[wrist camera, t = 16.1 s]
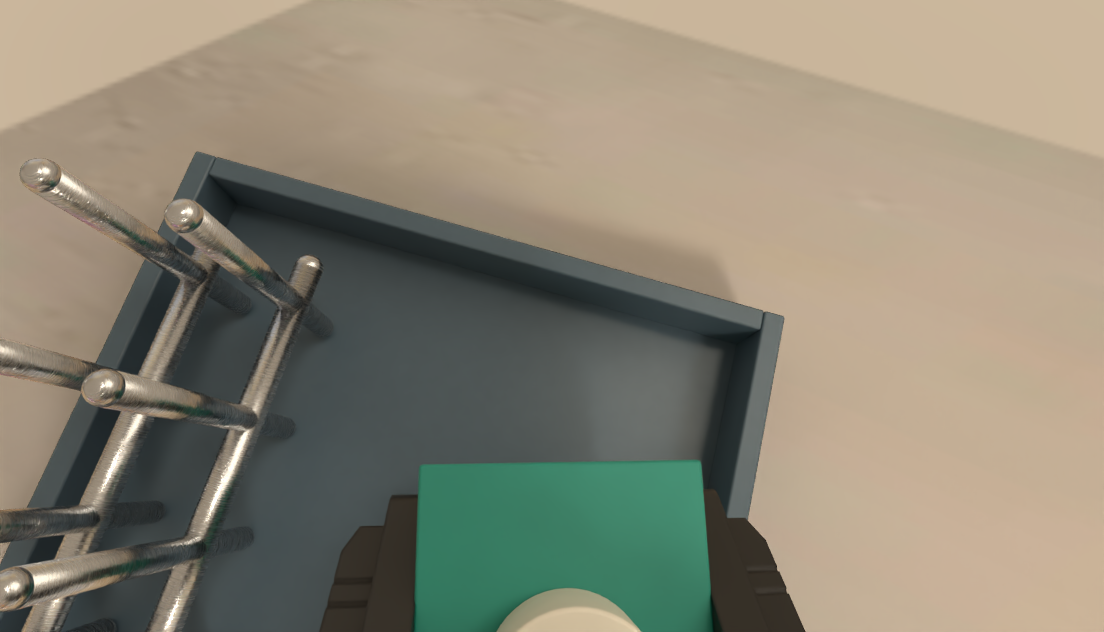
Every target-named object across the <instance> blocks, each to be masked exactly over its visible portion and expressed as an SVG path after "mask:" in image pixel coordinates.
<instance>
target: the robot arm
mask: <svg viewBox="0 0 1104 632" xmlns="http://www.w3.org/2000/svg"><path fill="white" fill-rule="evenodd" d="M703 493H704V506H705V519H706V532H707V545H708V558H709V571H710V584H711V602H712V615H713V629H714V632H805V630H804V628H803V625H802V623H801V621H800V618H799V616H798V614H797V611H796V609H795V607H794V605H793V602H792V600H791V598H790V595H789V594H787V592H786V586H785V584H784V581H783V579H782V577H781V575H780V572H778V571H777V565H776V563H775V561H774V558H773V556H772V554H771V551H770V549H769V547H768V545H767V542H766V540H765V539H764V538H763V537H762V536H761V535H760V534H759V532H758V531H757V530H756V529H755V528H754V527H753V526H752V525H751V524H750V523H749V522H748V521H747V519H746V518H727V516H726V514H725V511H724V509H723V506H722V503H721V501H720V498H719V496H718V494H717V492H716V491H715V490H714V489H703ZM417 504H418V494H412V495H392V496H391V497H390V500H389V504H388V508H387V513H386V518H385V522H384V525H383V526H360V527H359V528H358V529H357V531H356V532H355V533H354V535H353V536H352V537H351V539H350V540H349V541H348V543H347V544H346V545H345V546H344V548H343V549H342V550H341V554H340V557H339V561H338V565H337V568H336V572H335V576H334V583H333V584H332V587H331V590H330V594H329V598H328V601H327V608H325V612H324V616H323V619H322V623H321V627H320V630H319V632H414V617H415V600H414V592H415V563H416V533H417Z"/></svg>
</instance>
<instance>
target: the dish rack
mask: <svg viewBox="0 0 1104 632" xmlns="http://www.w3.org/2000/svg"><path fill="white" fill-rule="evenodd" d="M19 176H20V179H21V182H22V183H23V185H24V186H25V187H26V188H28V189H29V190H30V191H32V192H34V193H35V194H37V195H39V196H40V197H42V198H44V199H45V200H47V201H49V202H50V203H52V204H54V205H55V206H57V207H59V208H60V209H62V210H64V211H66V212H67V213H69V214H71V215H72V216H74V217H76V218H77V219H79V220H81V221H82V222H84V223H86V224H87V225H89V226H91V227H92V228H94V229H96V230H97V231H99V232H101V233H102V234H104V235H106V236H107V237H109V238H111V239H112V240H114V241H116V242H117V243H119V244H121V245H122V246H124V247H126V248H127V249H129V250H131V251H132V252H134V253H136V254H137V255H139V256H141V257H142V258H144V259H146V260H147V261H149V262H151V263H152V264H154V265H156V266H157V267H159V268H161V269H162V270H164V271H166V272H168V273H169V274H171V275H173V276H174V277H176V278H178V279H179V280H180V283H179V285H178V287H177V289H176V291H175V294H174V296H173V298H172V300H171V302H170V305H169V307H168V309H167V311H166V313H165V316H164V318H163V320H162V322H161V324H160V327H159V329H158V331H157V333H156V335H155V338H154V340H153V342H152V344H151V346H150V349H149V351H148V353H147V355H146V357H145V360H144V362H143V364H142V366H141V368H140V371H139V373H138V375H136V374H132V373H128V372H125V371H121V370H118V369H114V368H110V367H107V366H103V365H99V364H96V363H92V362H89V361H85V360H81V359H78V358H74V357H70V356H67V355H63V354H60V353H56V352H52V351H49V350H45V349H41V348H38V347H34V346H31V345H27V344H23V343H20V342H16V341H12V340H9V339H5V338H2V337H0V375H5V376H10V377H15V378H20V379H25V380H30V381H35V382H40V383H44V384H49V385H54V386H59V387H64V388H69V389H74V390H79V391H81V392H82V395H83V397H84V399H85V400H86V401H87V402H88V403H89V404H91V405H93V406H96V407H100V408H106V409H112V410H118V411H121V413H120V415H119V417H118V419H117V421H116V424H115V426H114V428H113V430H112V432H111V435H110V437H109V439H108V441H107V443H106V446H105V448H104V450H103V452H102V454H101V457H100V459H99V461H98V463H97V465H96V468H95V470H94V472H93V474H92V476H91V479H90V481H89V483H88V485H87V487H86V490H85V492H84V494H83V496H82V498H81V501H80V503H79V505H71V506H55V507H39V508H23V509H7V510H0V543H5V542H13V541H21V540H28V539H36V538H44V537H52V536H60V535H65V536H64V538H63V540H62V542H61V545H60V547H59V549H58V551H57V553H56V556H55V558H54V560H49V561H43V562H38V563H32V564H27V565H21V566H15V567H10V568H7V569H4V570H2V571H0V612H10V611H15V610H18V609H22V608H26V607H30V606H32V608H31V611H30V613H29V615H28V617H27V619H26V622H25V624H24V626H23V628H22V630H21V632H61V630H62V628H63V626H64V623H65V621H66V619H67V617H68V614H69V612H70V610H71V607H72V605H73V603H74V601H75V598H76V596H77V594H78V593H82V592H86V591H90V590H93V589H97V588H101V587H105V586H108V585H112V584H116V583H120V582H123V581H127V580H131V579H135V578H138V577H142V576H146V575H150V574H153V573H157V572H161V571H165V570H168V569H170V572H169V574H168V576H167V579H166V581H165V584H164V586H163V589H162V591H161V594H160V596H159V599H158V601H157V604H156V606H155V608H154V611H153V613H152V616H151V618H150V621H149V623H148V626H147V628H146V631H145V632H182V630H183V627H184V625H185V622H186V620H187V617H188V614H189V612H190V609H191V607H192V604H193V602H194V599H195V597H196V594H197V592H198V589H199V586H200V584H201V581H202V579H203V576H204V574H205V571H206V569H207V566H208V563H209V561H210V558H213V557H217V556H221V555H225V554H228V553H232V552H236V551H240V550H243V549H246V548H248V547H249V546H251V545H252V543H253V541H254V539H255V534H254V531H253V530H252V529H251V528H250V527H248V526H240V527H234V528H228V529H223V530H222V528H223V525H224V523H225V520H226V518H227V515H228V513H229V510H230V507H231V505H232V502H233V500H234V497H235V495H236V492H237V490H238V487H239V484H240V482H241V479H242V477H243V474H244V472H245V469H246V467H247V464H248V462H249V459H250V456H251V454H252V451H253V449H254V446H255V444H256V441H257V439H258V436H259V435H263V436H269V437H275V438H281V439H286V438H289V437H291V436H292V435H293V434H294V433H295V430H296V424H295V422H294V420H292V419H291V418H289V417H285V416H282V415H278V414H274V413H271V412H268V411H269V408H270V405H271V403H272V400H273V398H274V395H275V393H276V390H277V388H278V385H279V383H280V380H281V377H282V375H283V372H284V370H285V367H286V365H287V362H288V360H289V357H290V354H291V352H292V349H293V347H294V344H295V342H296V339H297V337H298V334H299V332H300V329H301V326H302V325H303V326H304V327H306V328H307V329H308V330H310V331H311V332H312V333H314V334H315V335H317V336H318V337H327V336H329V335H331V334H332V332H333V330H334V324H333V322H332V321H331V320H330V319H329V318H328V317H327V316H326V315H325V314H324V313H322V312H321V311H320V310H319V309H318V308H317V307H316V306H314V305H313V304H312V303H311V301H312V298H313V296H314V293H315V291H316V288H317V286H318V283H319V281H320V278H321V275H322V273H323V264H322V262H321V260H320V259H319V258H318V257H316V256H314V255H310V254H306V255H303V256H300V257H299V258H298V259H297V260H296V262H295V264H294V266H293V269H292V271H291V274H290V276H289V279H288V281H286V280H285V279H284V278H283V277H281V276H280V275H279V274H278V273H277V272H276V271H275V270H273V269H272V268H271V267H270V266H269V265H268V264H267V263H265V262H264V261H263V260H262V259H261V258H260V257H259V256H257V255H256V254H255V253H254V252H253V251H252V250H251V249H249V248H248V247H247V246H246V245H245V244H244V243H243V242H241V241H240V240H239V239H238V238H237V237H236V236H235V235H233V234H232V233H231V232H230V231H229V230H228V229H227V228H225V227H224V226H223V225H222V224H221V223H220V222H219V221H217V220H216V219H215V218H214V217H213V216H212V215H211V214H210V213H208V212H207V211H206V210H205V209H204V208H203V207H202V206H200V205H199V204H198V203H196V202H195V201H193V200H190V199H177V200H174V201H172V202H171V203H169V205H168V206H167V207H166V209H165V213H164V218H165V221H166V223H167V225H168V226H169V227H170V228H171V229H172V230H173V231H174V232H176V233H177V234H178V235H180V236H181V237H183V238H184V239H185V240H187V241H188V242H189V243H191V244H192V245H194V246H195V250H194V252H193V254H192V256H189V255H188V254H186V253H185V252H184V251H182V250H181V249H179V248H178V247H176V246H175V245H173V244H172V243H171V242H169V241H168V240H166V239H165V238H163V237H162V236H160V235H159V234H158V233H156V232H155V231H153V230H152V229H150V228H149V227H147V226H146V225H145V224H143V223H142V222H140V221H139V220H137V219H136V218H134V217H133V216H132V215H130V214H129V213H127V212H126V211H124V210H123V209H121V208H120V207H119V206H117V205H116V204H114V203H113V202H111V201H110V200H108V199H107V198H106V197H104V196H103V195H101V194H100V193H98V192H97V191H95V190H94V189H92V188H91V187H90V186H88V185H87V184H85V183H84V182H82V181H81V180H79V179H78V178H77V177H75V176H74V175H72V174H71V173H69V172H68V171H66V170H65V169H64V168H62V167H61V166H59V165H58V164H56V163H55V162H53V161H51V160H48V159H44V158H34V159H31V160H28V161H26V162H25V163H24V164H23V165H22V166H21V168H20V172H19ZM221 266H222V267H224V268H225V269H226V270H228V271H229V272H230V273H232V274H233V275H235V276H236V277H237V278H239V279H240V280H241V281H243V282H244V283H245V284H247V285H248V286H250V287H251V288H252V289H254V290H255V291H256V292H258V293H259V294H260V295H262V296H263V297H265V298H266V299H267V300H269V301H270V302H271V303H273V304H274V305H275V306H277V308H276V311H275V313H274V316H273V318H272V321H271V323H270V326H269V328H268V330H267V333H266V335H265V338H264V340H263V343H262V345H261V348H260V350H259V353H258V355H257V358H256V360H255V362H254V365H253V367H252V370H251V372H250V375H249V377H248V380H247V382H246V385H245V387H244V390H243V392H242V394H241V397H240V399H239V402H238V403H234V402H230V401H227V400H223V399H219V398H216V397H212V396H208V395H206V394H204V393H201V392H197V391H194V390H190V389H187V388H183V387H179V386H176V385H172V384H170V382H171V380H172V377H173V375H174V373H175V370H176V368H177V366H178V364H179V361H180V359H181V357H182V355H183V352H184V350H185V348H186V345H187V343H188V341H189V339H190V336H191V334H192V332H193V329H194V327H195V325H196V323H197V320H198V318H199V316H200V314H201V311H202V309H203V307H204V304H205V302H206V300H207V298H208V297H209V298H211V299H213V300H214V301H216V302H218V303H219V304H221V305H223V306H224V307H226V308H228V309H229V310H231V311H233V312H234V313H237V314H244V313H247V312H248V311H249V310H250V309H251V307H252V301H251V299H250V298H249V297H248V296H247V295H246V294H244V293H243V292H241V291H240V290H239V289H237V288H236V287H234V286H233V285H231V284H230V283H228V282H227V281H226V280H224V279H223V278H221V277H220V276H218V272H219V270H220V268H221ZM155 417H158V418H164V419H170V420H176V421H182V422H188V423H193V424H199V425H205V426H211V427H217V428H222V429H227V431H226V434H225V436H224V439H223V441H222V444H221V446H220V449H219V451H218V453H217V456H216V458H215V461H214V463H213V466H212V468H211V471H210V473H209V476H208V478H207V481H206V483H205V485H204V488H203V490H202V493H201V495H200V498H199V500H198V503H197V505H196V508H195V510H194V513H193V515H192V517H191V520H190V522H189V525H188V527H187V530H186V532H185V535H184V537H178V538H172V539H167V540H161V541H156V542H150V543H144V544H139V545H133V546H127V547H122V548H116V549H111V550H105V551H99V552H96V550H97V548H98V546H99V544H100V541H101V539H102V537H103V535H104V532H105V530H107V529H115V528H123V527H131V526H139V525H146V524H153V523H156V522H158V521H160V520H161V519H162V518H163V517H164V515H165V511H166V509H165V506H164V504H163V503H161V502H160V501H156V500H151V501H135V502H119V503H118V500H119V498H120V496H121V494H122V491H123V489H124V487H125V484H126V482H127V480H128V478H129V475H130V473H131V471H132V468H133V466H134V464H135V462H136V459H137V457H138V455H139V452H140V450H141V448H142V446H143V443H144V441H145V439H146V437H147V434H148V432H149V430H150V427H151V425H152V423H153V421H154V418H155ZM64 632H116V624H115V622H114V621H113V620H112V619H109V618H102V619H99V620H96V621H93V622H90V623H87V624H84V625H81V626H78V627H76V628H73V629H70V630H67V631H64Z"/></svg>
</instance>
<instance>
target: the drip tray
mask: <svg viewBox="0 0 1104 632" xmlns="http://www.w3.org/2000/svg"><path fill="white" fill-rule="evenodd" d="M177 199H190V200H193V201H195V202H196V203H198V204H199V205H200V206H202V207H203V208H204V209H205V210H206V211H207V212H208V213H210V214H211V215H212V216H213V217H214V218H215V219H216V220H217V221H219V222H220V223H221V224H222V225H223V226H224V227H225V228H227V229H228V230H229V231H230V232H231V233H232V234H233V235H235V236H236V237H237V238H238V239H239V240H240V241H241V242H243V243H244V244H245V245H246V246H247V247H248V248H249V249H251V250H252V251H253V252H254V253H255V254H256V255H257V256H259V257H260V258H261V259H262V260H263V261H264V262H265V263H267V264H268V265H269V266H270V267H271V268H272V269H273V270H275V271H276V272H277V273H278V274H279V275H280V276H281V277H283V278H284V279H285V280H286V281H288V279H289V276H290V274H291V271H292V269H293V266H294V264H295V262H296V260H297V259H298V258H299V257H300V256H303V255H306V254H310V255H314V256H316V257H318V258H319V259H320V260H321V262H322V264H323V273H322V275H321V278H320V281H319V283H318V286H317V288H316V291H315V293H314V296H313V298H312V301H311V303H312V304H313V305H314V306H316V307H317V308H318V309H319V310H320V311H321V312H322V313H324V314H325V315H326V316H327V317H328V318H329V319H330V320H331V321H332V322H333V324H334V330H333V332H332V334H331V335H329V336H327V337H318V336H317V335H315V334H314V333H312V332H311V331H310V330H308V329H307V328H306V327H304V326H303V325H302V326H301V329H300V332H299V334H298V337H297V339H296V342H295V344H294V347H293V349H292V352H291V354H290V357H289V360H288V362H287V365H286V367H285V370H284V372H283V375H282V377H281V380H280V383H279V385H278V388H277V390H276V393H275V395H274V398H273V400H272V403H271V405H270V408H269V411H268V412H271V413H274V414H278V415H282V416H285V417H289V418H291V419H292V420H294V422H295V424H296V430H295V433H294V434H293V435H292V436H291V437H289V438H286V439H281V438H275V437H269V436H263V435H259V436H258V439H257V441H256V444H255V446H254V449H253V451H252V454H251V456H250V459H249V462H248V464H247V467H246V469H245V472H244V474H243V477H242V479H241V482H240V484H239V487H238V490H237V492H236V495H235V497H234V500H233V502H232V505H231V507H230V510H229V513H228V515H227V518H226V520H225V523H224V525H223V528H222V530H223V529H228V528H234V527H240V526H248V527H250V528H251V529H252V530H253V531H254V534H255V539H254V541H253V543H252V545H251V546H249V547H248V548H246V549H243V550H240V551H236V552H232V553H228V554H225V555H221V556H217V557H213V558H210V561H209V563H208V566H207V569H206V571H205V574H204V576H203V579H202V581H201V584H200V586H199V589H198V592H197V594H196V597H195V599H194V602H193V604H192V607H191V609H190V612H189V614H188V617H187V620H186V622H185V625H184V627H183V630H182V632H319V630H320V627H321V623H322V619H323V616H324V612H325V608H327V601H328V598H329V594H330V590H331V587H332V584H333V583H334V576H335V572H336V568H337V565H338V561H339V557H340V554H341V550H342V549H343V548H344V546H345V545H346V544H347V543H348V541H349V540H350V539H351V537H352V536H353V535H354V533H355V532H356V531H357V529H358V528H359V527H360V526H383V525H384V522H385V518H386V513H387V508H388V504H389V500H390V497H391V496H392V495H412V494H418V474H419V467H420V465H423V464H474V463H532V462H590V461H648V460H699V461H700V462H701V466H702V480H703V489H714V490H715V491H716V492H717V494H718V496H719V498H720V501H721V503H722V506H723V509H724V511H725V514H726V516H727V518H746V519H747V521H748V515H749V510H750V504H751V499H752V493H753V488H754V482H755V477H756V471H757V466H758V460H759V455H760V449H761V444H762V438H763V433H764V427H765V422H766V416H767V411H768V405H769V400H770V394H771V389H772V384H773V378H774V373H775V367H776V362H777V356H778V351H779V345H780V340H781V334H782V329H783V323H784V317H783V316H780V315H777V314H773V313H770V312H764V313H763V311H762V310H759V309H756V308H752V307H748V306H745V305H741V304H738V303H734V302H731V301H727V300H724V299H720V298H716V297H713V296H709V295H706V294H702V293H699V292H695V291H692V290H688V289H684V288H681V287H677V286H674V285H670V284H667V283H663V282H660V281H656V280H653V279H649V278H645V277H642V276H638V275H635V274H631V273H628V272H624V271H621V270H617V269H613V268H610V267H606V266H603V265H599V264H596V263H592V262H589V261H585V260H581V259H578V258H574V257H571V256H567V255H564V254H560V253H557V252H553V251H549V250H546V249H542V248H539V247H535V246H532V245H528V244H525V243H521V242H517V241H514V240H510V239H507V238H503V237H500V236H496V235H493V234H489V233H486V232H482V231H478V230H475V229H471V228H468V227H464V226H461V225H457V224H454V223H450V222H446V221H443V220H439V219H436V218H432V217H429V216H425V215H422V214H418V213H414V212H411V211H407V210H404V209H400V208H397V207H393V206H390V205H386V204H382V203H379V202H375V201H372V200H368V199H365V198H361V197H358V196H354V195H350V194H347V193H343V192H340V191H336V190H333V189H329V188H326V187H322V186H318V185H315V184H311V183H308V182H304V181H301V180H297V179H294V178H290V177H287V176H283V175H279V174H276V173H272V172H269V171H265V170H262V169H258V168H255V167H251V166H247V165H244V164H240V163H237V162H233V161H230V160H226V159H223V158H219V157H217V158H216V157H215V156H212V155H208V154H205V153H201V152H196V153H195V155H194V157H193V159H192V161H191V163H190V165H189V167H188V170H187V172H186V174H185V176H184V178H183V180H182V182H181V184H180V186H179V188H178V191H177V193H176V195H175V197H174V199H173V201H174V200H177ZM158 234H159V235H160V236H162V237H163V238H165V239H166V240H168V241H169V242H171V243H172V244H173V245H175V246H176V247H178V248H179V249H181V250H182V251H184V252H185V253H186V254H188V255H189V256H192V254H193V252H194V250H195V246H194V245H192V244H191V243H189V242H188V241H187V240H185V239H184V238H183V237H181V236H180V235H178V234H177V233H176V232H174V231H173V230H172V229H171V228H170V227H169V226H168V225H167V223H166V221H165V218H164V220H163V222H162V224H161V226H160V229H159V231H158ZM218 276H220V277H221V278H223V279H224V280H226V281H227V282H228V283H230V284H231V285H233V286H234V287H236V288H237V289H239V290H240V291H241V292H243V293H244V294H246V295H247V296H248V297H249V298H250V299H251V301H252V307H251V309H250V310H249V311H248V312H247V313H244V314H237V313H234V312H233V311H231V310H229V309H228V308H226V307H224V306H223V305H221V304H219V303H218V302H216V301H214V300H213V299H211V298H209V297H208V298H207V300H206V302H205V304H204V307H203V309H202V311H201V314H200V316H199V318H198V320H197V323H196V325H195V327H194V329H193V332H192V334H191V336H190V339H189V341H188V343H187V345H186V348H185V350H184V352H183V355H182V357H181V359H180V361H179V364H178V366H177V368H176V370H175V373H174V375H173V377H172V380H171V382H170V384H172V385H176V386H179V387H183V388H187V389H190V390H194V391H197V392H201V393H204V394H206V395H208V396H212V397H216V398H219V399H223V400H227V401H230V402H234V403H238V402H239V399H240V397H241V394H242V392H243V390H244V387H245V385H246V382H247V380H248V377H249V375H250V372H251V370H252V367H253V365H254V362H255V360H256V358H257V355H258V353H259V350H260V348H261V345H262V343H263V340H264V338H265V335H266V333H267V330H268V328H269V326H270V323H271V321H272V318H273V316H274V313H275V311H276V308H277V306H275V305H274V304H273V303H271V302H270V301H269V300H267V299H266V298H265V297H263V296H262V295H260V294H259V293H258V292H256V291H255V290H254V289H252V288H251V287H250V286H248V285H247V284H245V283H244V282H243V281H241V280H240V279H239V278H237V277H236V276H235V275H233V274H232V273H230V272H229V271H228V270H226V269H225V268H224V267H222V266H221V268H220V270H219V272H218ZM179 283H180V280H179V279H178V278H176V277H174V276H173V275H171V274H169V273H168V272H166V271H164V270H162V269H161V268H159V267H157V266H156V265H154V264H152V263H151V262H149V261H147V260H146V259H145V260H144V262H143V264H142V266H141V269H140V271H139V273H138V275H137V277H136V279H135V281H134V283H133V285H132V288H131V290H130V292H129V294H128V296H127V298H126V300H125V302H124V304H123V306H122V309H121V311H120V313H119V315H118V317H117V319H116V321H115V323H114V325H113V328H112V330H111V332H110V334H109V336H108V338H107V340H106V342H105V344H104V347H103V349H102V351H101V353H100V355H99V357H98V359H97V361H96V364H99V365H103V366H107V367H110V368H114V369H118V370H121V371H125V372H128V373H132V374H136V375H138V373H139V371H140V368H141V366H142V364H143V362H144V360H145V357H146V355H147V353H148V351H149V349H150V346H151V344H152V342H153V340H154V338H155V335H156V333H157V331H158V329H159V327H160V324H161V322H162V320H163V318H164V316H165V313H166V311H167V309H168V307H169V305H170V302H171V300H172V298H173V296H174V294H175V291H176V289H177V287H178V285H179ZM120 413H121V411H118V410H112V409H106V408H100V407H96V406H93V405H91V404H89V403H88V402H87V401H86V400H85V399H84V397H83V395H82V393H81V395H80V397H79V399H78V401H77V403H76V406H75V408H74V410H73V412H72V414H71V416H70V418H69V420H68V422H67V424H66V427H65V429H64V431H63V433H62V435H61V437H60V439H59V441H58V443H57V446H56V448H55V450H54V452H53V454H52V456H51V458H50V460H49V462H48V465H47V467H46V469H45V471H44V473H43V475H42V477H41V479H40V481H39V483H38V486H37V488H36V490H35V492H34V494H33V496H32V498H31V500H30V502H29V505H28V507H27V508H39V507H55V506H71V505H79V503H80V501H81V498H82V496H83V494H84V492H85V490H86V487H87V485H88V483H89V481H90V479H91V476H92V474H93V472H94V470H95V468H96V465H97V463H98V461H99V459H100V457H101V454H102V452H103V450H104V448H105V446H106V443H107V441H108V439H109V437H110V435H111V432H112V430H113V428H114V426H115V424H116V421H117V419H118V417H119V415H120ZM226 431H227V429H222V428H217V427H211V426H205V425H199V424H193V423H188V422H182V421H176V420H170V419H164V418H158V417H155V418H154V421H153V423H152V425H151V427H150V430H149V432H148V434H147V437H146V439H145V441H144V443H143V446H142V448H141V450H140V452H139V455H138V457H137V459H136V462H135V464H134V466H133V468H132V471H131V473H130V475H129V478H128V480H127V482H126V484H125V487H124V489H123V491H122V494H121V496H120V498H119V500H118V503H119V502H135V501H151V500H156V501H160V502H161V503H163V504H164V506H165V509H166V511H165V515H164V517H163V518H162V519H161V520H160V521H158V522H156V523H153V524H146V525H139V526H131V527H123V528H115V529H107V530H105V532H104V535H103V537H102V539H101V541H100V544H99V546H98V548H97V550H96V552H99V551H105V550H111V549H116V548H122V547H127V546H133V545H139V544H144V543H150V542H156V541H161V540H167V539H172V538H178V537H184V535H185V532H186V530H187V527H188V525H189V522H190V520H191V517H192V515H193V513H194V510H195V508H196V505H197V503H198V500H199V498H200V495H201V493H202V490H203V488H204V485H205V483H206V481H207V478H208V476H209V473H210V471H211V468H212V466H213V463H214V461H215V458H216V456H217V453H218V451H219V449H220V446H221V444H222V441H223V439H224V436H225V434H226ZM64 536H65V535H60V536H52V537H44V538H36V539H28V540H21V541H13V542H11V543H10V545H9V547H8V549H7V551H6V553H5V555H4V557H3V559H2V561H1V564H0V571H2V570H4V569H7V568H10V567H15V566H21V565H27V564H32V563H38V562H43V561H49V560H54V558H55V556H56V553H57V551H58V549H59V547H60V545H61V542H62V540H63V538H64ZM169 572H170V569H168V570H165V571H161V572H157V573H153V574H150V575H146V576H142V577H138V578H135V579H131V580H127V581H123V582H120V583H116V584H112V585H108V586H105V587H101V588H97V589H93V590H90V591H86V592H82V593H78V594H77V596H76V598H75V601H74V603H73V605H72V607H71V610H70V612H69V614H68V617H67V619H66V621H65V623H64V626H63V628H62V630H61V632H64V631H67V630H70V629H73V628H76V627H78V626H81V625H84V624H87V623H90V622H93V621H96V620H99V619H102V618H109V619H112V620H113V621H114V622H115V624H116V632H145V631H146V628H147V626H148V623H149V621H150V618H151V616H152V613H153V611H154V608H155V606H156V604H157V601H158V599H159V596H160V594H161V591H162V589H163V586H164V584H165V581H166V579H167V576H168V574H169ZM31 608H32V606H30V607H26V608H22V609H18V610H15V611H10V612H0V632H21V630H22V628H23V626H24V624H25V622H26V619H27V617H28V615H29V613H30V611H31Z"/></svg>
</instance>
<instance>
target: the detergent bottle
mask: <svg viewBox="0 0 1104 632" xmlns="http://www.w3.org/2000/svg"><path fill="white" fill-rule="evenodd" d="M414 600H415V617H414V632H714V629H713V615H712V602H711V584H710V571H709V558H708V545H707V532H706V519H705V506H704V493H703V480H702V466H701V462H700V461H699V460H648V461H590V462H532V463H474V464H423V465H420V467H419V474H418V504H417V533H416V563H415V592H414Z"/></svg>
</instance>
